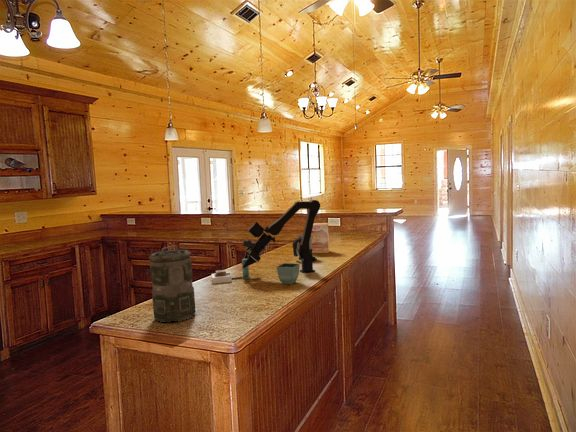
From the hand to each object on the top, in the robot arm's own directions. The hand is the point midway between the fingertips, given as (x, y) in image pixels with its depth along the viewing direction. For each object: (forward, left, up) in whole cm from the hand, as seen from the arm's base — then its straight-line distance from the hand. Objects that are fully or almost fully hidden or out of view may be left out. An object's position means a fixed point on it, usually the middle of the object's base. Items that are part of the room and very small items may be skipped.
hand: (242, 265), depth 225 cm
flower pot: (-26, -13, -7) cm, 30 cm away
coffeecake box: (+33, -69, -7) cm, 77 cm away
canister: (-41, +47, -7) cm, 62 cm away
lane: (+4, +11, -7) cm, 13 cm away
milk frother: (+17, -51, -7) cm, 54 cm away
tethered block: (+2, +5, -7) cm, 8 cm away
